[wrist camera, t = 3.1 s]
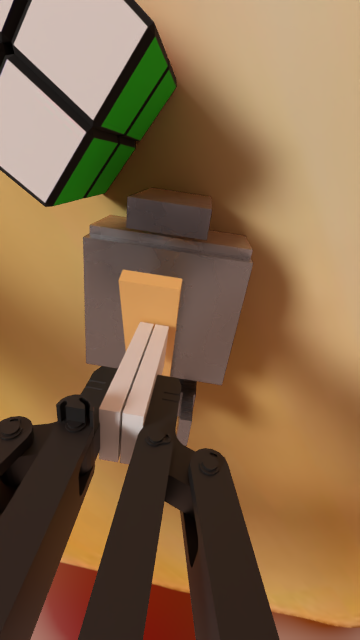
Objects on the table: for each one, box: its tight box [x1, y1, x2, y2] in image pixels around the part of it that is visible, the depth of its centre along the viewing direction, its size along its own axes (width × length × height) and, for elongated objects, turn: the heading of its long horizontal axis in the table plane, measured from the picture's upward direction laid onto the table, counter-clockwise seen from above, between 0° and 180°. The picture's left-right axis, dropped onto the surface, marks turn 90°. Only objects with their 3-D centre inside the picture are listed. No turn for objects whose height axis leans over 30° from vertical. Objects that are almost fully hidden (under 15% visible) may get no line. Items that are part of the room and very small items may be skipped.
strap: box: [119, 270, 182, 377], centre depth 21 cm, size 5×17×2 cm, turn 172°
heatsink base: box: [83, 188, 253, 446], centre depth 25 cm, size 12×19×9 cm, turn 172°
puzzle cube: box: [0, 0, 177, 207], centre depth 18 cm, size 10×10×10 cm
